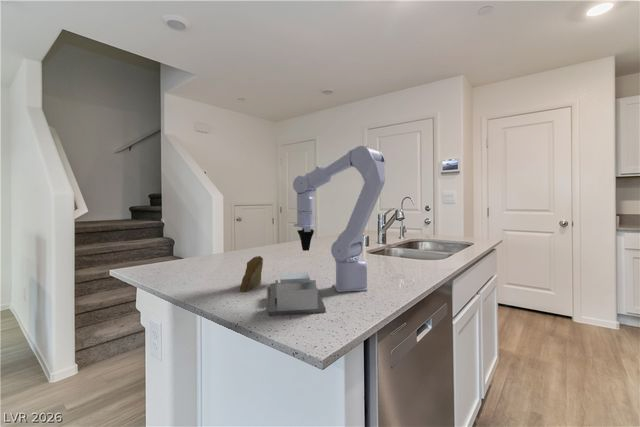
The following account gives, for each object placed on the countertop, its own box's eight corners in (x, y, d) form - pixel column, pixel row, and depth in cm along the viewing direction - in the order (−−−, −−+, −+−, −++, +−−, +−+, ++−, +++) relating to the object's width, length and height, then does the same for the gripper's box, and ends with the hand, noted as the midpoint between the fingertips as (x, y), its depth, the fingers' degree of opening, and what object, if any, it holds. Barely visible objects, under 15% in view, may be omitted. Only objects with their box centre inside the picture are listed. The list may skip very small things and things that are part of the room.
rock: (247, 287, 91) (273, 276, 98) (234, 263, 93) (260, 253, 100) (234, 301, 98) (259, 290, 105) (222, 278, 100) (248, 269, 107)
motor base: (313, 284, 101) (313, 266, 101) (325, 312, 76) (325, 288, 76) (271, 286, 99) (270, 268, 99) (268, 315, 74) (268, 291, 74)
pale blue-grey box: (314, 288, 92) (313, 271, 91) (318, 298, 83) (317, 279, 83) (280, 290, 90) (280, 273, 90) (280, 300, 81) (280, 281, 81)
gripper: (292, 210, 112) (293, 247, 113) (294, 212, 98) (295, 254, 99) (311, 210, 113) (312, 246, 114) (316, 212, 99) (317, 253, 99)
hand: (305, 250), depth 106 cm, fingers closed
